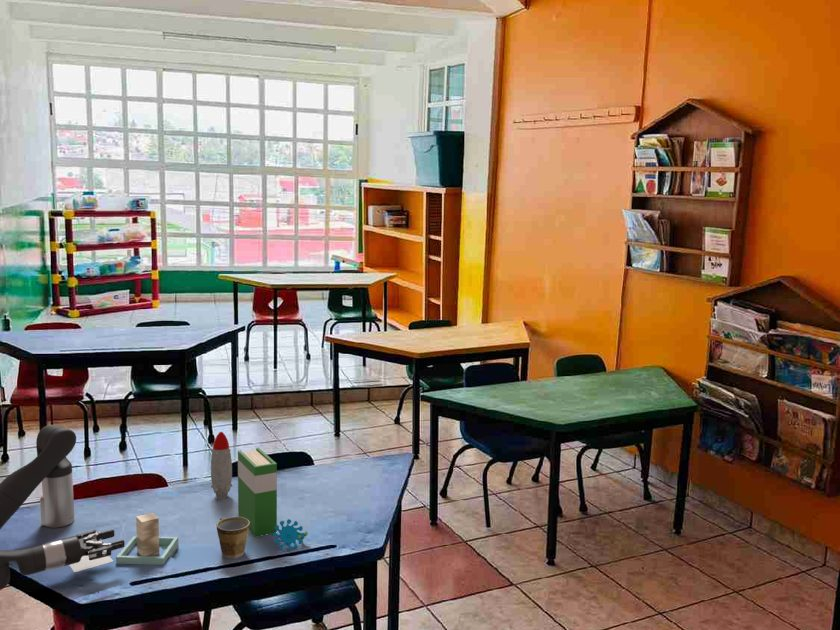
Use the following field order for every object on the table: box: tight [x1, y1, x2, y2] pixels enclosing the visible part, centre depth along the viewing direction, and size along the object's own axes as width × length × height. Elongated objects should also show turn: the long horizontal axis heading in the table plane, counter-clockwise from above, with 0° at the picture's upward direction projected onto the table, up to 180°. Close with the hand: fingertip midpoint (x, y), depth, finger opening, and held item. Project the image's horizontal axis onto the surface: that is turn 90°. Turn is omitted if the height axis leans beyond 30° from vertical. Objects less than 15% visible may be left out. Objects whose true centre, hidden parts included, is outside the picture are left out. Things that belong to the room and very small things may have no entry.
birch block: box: [135, 512, 160, 556], centre depth 225 cm, size 5×5×12 cm
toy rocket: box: [210, 431, 233, 500], centre depth 272 cm, size 8×8×25 cm
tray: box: [115, 535, 179, 566], centre depth 226 cm, size 14×14×4 cm
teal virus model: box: [272, 519, 309, 552], centre depth 238 cm, size 11×6×10 cm
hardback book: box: [237, 447, 278, 538], centre depth 249 cm, size 18×7×24 cm, turn 31°
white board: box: [68, 553, 114, 573], centre depth 221 cm, size 11×11×2 cm
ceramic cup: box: [216, 516, 250, 559], centre depth 231 cm, size 13×10×10 cm
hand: (119, 537), depth 219 cm, fingers open, 8 cm apart
